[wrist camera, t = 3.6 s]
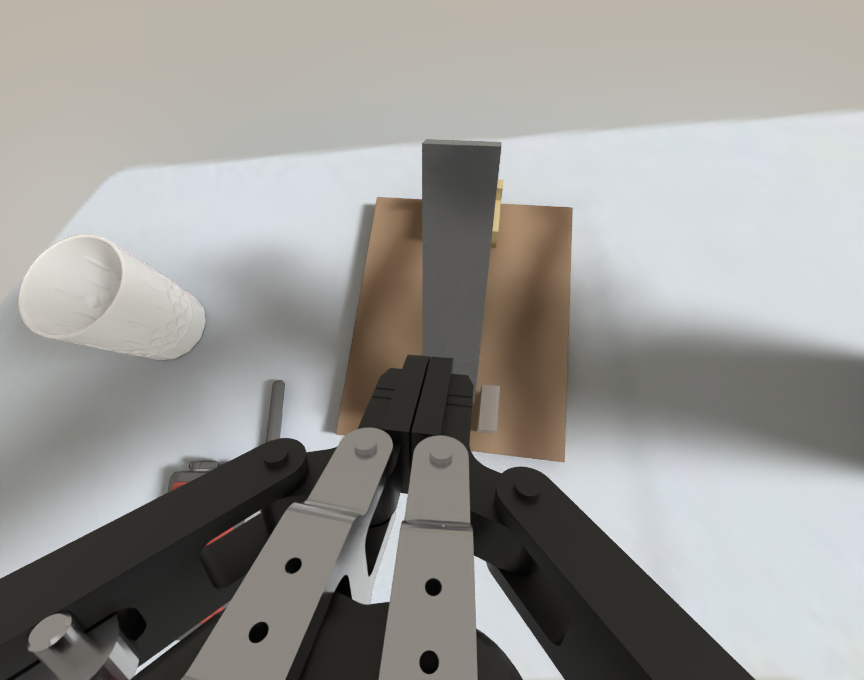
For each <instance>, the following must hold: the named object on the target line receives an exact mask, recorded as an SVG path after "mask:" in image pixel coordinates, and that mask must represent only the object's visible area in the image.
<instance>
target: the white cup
mask: <svg viewBox="0 0 864 680" xmlns="http://www.w3.org/2000/svg"><path fill="white" fill-rule="evenodd" d="M18 307H19V312H20V315H21V318H22V320H23V321H24V323H25V324H26V326H27V327H28V328H29V329H30V330H31V331H33V332H34V333H36V334H38V335H40V336H43V337H46V338H51V339H56V340H60V341H65V342H70V343H75V344H79V345H84V346H89V347H93V348H98V349H102V350H107V351H112V352H119V353H123V354H127V355H135V356H143V357H147V358H151V359H156V360H169V359H176V358H178V357H180V356H182V355H184V354H185V353H187V352H189V351H190V350H191V349H192V348H193V347H194V346H195V345H196V343H197V342H198V341H199V340H200V339H201V336H202V333H203V330H204V327H205V325H206V320H205V311H204V308H203V306H202V305H201V304H200V302H199V301H198V300H197V298H196V297H195V296H193V295H191V294H190V293H188V292H186V291H185V290H183V289H182V288H180V287H179V286H178V285H176V284H175V283H174V282H173V281H171V280H170V279H168V278H167V277H165V276H163V275H162V274H161V273H159V272H158V271H156V270H155V269H153V268H152V267H150V266H149V265H147V264H146V263H144V262H142V261H141V260H139V259H138V258H136V257H135V256H133V255H131V254H130V253H128V252H127V251H125V250H123V249H122V248H120V247H119V246H117V245H116V244H114V243H112V242H111V241H109V240H108V239H106V238H104V237H101V236H97V235H91V234H82V235H75V236H71V237H68V238H65V239H63V240H60V241H58V242H57V243H55V244H53V245H52V246H50V247H49V248H47V249H46V250H45V251H43V252H42V253H41V254H40V255H39V256H38V257H37V258H36V259H35V260H34V262H33V263H32V264H31V266H30V267H29V268H28V270H27V272H26V274H25V275H24V278H23V280H22V282H21V285H20V289H19V294H18Z"/></svg>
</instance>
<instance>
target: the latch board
mask: <svg viewBox="0 0 864 680" xmlns="http://www.w3.org/2000/svg"><path fill="white" fill-rule="evenodd" d="M502 190H503V180H498V183H497V192H496V202H495V212H494V221H493V231H492V240H491V250H490V260H489V269H488V279H487V289H486V298H485V308H484V317H483V327H482V337H481V346H480V356H479V366H478V375H477V385H476V395H475V404H474V403H472V416H471V429H470V450H471V451H476V452H485V453H493V454H501V455H509V456H517V457H525V458H533V459H542V460H550V461H558V462H564V461H565V429H566V398H567V367H568V335H569V304H570V272H571V241H572V210H573V208H570V207H551V206H533V205H514V204H501V197H502ZM408 354H410V355H421V356H423V305H422V199H403V198H385V197H377V200H376V206H375V212H374V218H373V223H372V229H371V235H370V241H369V247H368V252H367V258H366V264H365V270H364V275H363V281H362V287H361V293H360V298H359V304H358V310H357V316H356V321H355V327H354V333H353V339H352V344H351V350H350V356H349V362H348V368H347V373H346V379H345V385H344V391H343V396H342V402H341V408H340V414H339V419H338V425H337V431H336V434H338V435H347V434H349V433H350V432H352V431H354V430H357V429H358V426H359V424H360V422H361V419H362V417H363V415H364V413H365V410H366V408H367V406H368V403H369V401H370V399H371V398H372V394H373V392H374V389H375V387H376V385H377V382H378V380H379V378H380V376H381V375H382V374H384V373H385V372H386V371H387V370H388V369H390V368H397V369H402V368H403V365H404V362H405V359H406V357H407V355H408Z"/></svg>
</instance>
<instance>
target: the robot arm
mask: <svg viewBox="0 0 864 680" xmlns="http://www.w3.org/2000/svg"><path fill="white" fill-rule="evenodd" d="M473 390H474V385H473V383H472V381H471V380H470V378H469V376H468V375H461V374H453V358H444V357H433V356H431V359H430V356H421V355H410V354H408V355H407V357H406V359H405V362H404V365H403V368H402V369H397V368H390V369H388V370H387V371H386V372H385V373H384V374H382V375H381V376H380V378H379V380H378V382H377V385H376V387H375V389H374V392H373V394H372V398H371V399H370V401H369V403H368V406H367V408H366V410H365V413H364V415H363V417H362V419H361V422H360V424H359V426H358V429H357V430H354V431H352V432H350V433H349V434H347V435H346V436H345V437H344V438H343V439H342V440H341V442H340V443H339V445H338V447H335V448H332V449H327V450H320V451H313V452H306V450H305V447H304V446H303V444H302V443H300V442H299V441H297V440H294V439H290V438H280V439H275V440H271V441H269V442H266V443H264V444H262V445H260V446H258V447H256V448H254V449H252V450H251V451H249V452H247V453H245V454H243V455H241V456H239V457H237V458H235V459H233V460H231V461H229V462H227V463H225V464H223V465H221V466H219V467H217V468H215V469H213V470H212V471H210V472H208V473H206V474H204V475H202V476H200V477H198V478H196V479H194V480H192V481H190V482H188V483H186V484H184V485H182V486H180V487H178V488H176V489H174V490H172V491H171V492H169V493H167V494H165V495H163V496H161V497H159V498H157V499H155V500H153V501H151V502H149V503H147V504H145V505H143V506H141V507H139V508H137V509H135V510H133V511H132V512H130V513H128V514H126V515H124V516H122V517H120V518H118V519H116V520H114V521H112V522H110V523H108V524H106V525H104V526H102V527H100V528H98V529H96V530H94V531H93V532H91V533H89V534H87V535H85V536H83V537H81V538H79V539H77V540H75V541H73V542H71V543H69V544H67V545H65V546H63V547H61V548H59V549H57V550H55V551H54V552H52V553H50V554H48V555H46V556H44V557H42V558H40V559H38V560H36V561H34V562H32V563H30V564H28V565H26V566H24V567H22V568H20V569H18V570H16V571H14V572H13V573H11V574H9V575H7V576H5V577H3V578H1V579H0V680H523V679H522V677H521V676H520V674H519V672H518V671H517V669H516V668H515V666H514V665H513V664H512V662H511V661H510V660H509V658H508V657H507V656H506V654H505V653H504V652H503V651H502V650H501V649H500V648H499V647H498V645H497V644H496V643H495V642H493V641H492V640H491V639H490V638H489V637H488V636H486V635H485V634H484V633H482V632H481V631H479V630H478V629H476V612H475V580H474V556H476V557H478V558H480V559H482V560H484V561H486V563H487V566H488V569H489V571H490V572H491V574H492V576H493V577H494V578H495V580H496V581H497V583H498V584H499V586H500V587H501V588H502V590H503V591H504V593H505V594H506V596H507V597H508V599H509V600H510V601H511V603H512V604H513V606H514V607H515V609H516V610H517V612H518V613H519V614H520V616H521V617H522V619H523V620H524V622H525V623H526V624H527V626H528V627H529V629H530V630H531V632H532V633H533V635H534V636H535V637H536V639H537V640H538V642H539V643H540V645H541V646H542V648H543V649H544V650H545V652H546V653H547V655H548V656H549V658H550V659H551V660H552V662H553V663H554V665H555V666H556V668H557V669H558V671H559V672H560V673H561V675H562V676H563V678H564V679H565V680H755V679H754V678H753V677H752V676H751V675H750V674H749V673H748V672H747V671H746V670H745V669H744V668H743V667H742V666H741V665H740V664H739V663H738V662H737V661H736V660H735V659H734V658H733V657H732V656H731V655H730V654H728V653H727V652H726V651H725V650H724V649H723V648H722V647H721V646H720V645H719V644H718V643H717V642H716V641H715V640H714V639H713V638H712V637H711V636H710V635H709V634H708V633H707V632H706V631H705V630H704V629H703V628H702V627H701V626H700V625H699V624H698V623H697V622H696V621H695V620H694V619H693V618H692V617H691V616H690V615H689V614H687V613H686V612H685V611H684V610H683V609H682V608H681V607H680V606H679V605H678V604H677V603H676V602H675V601H674V600H673V599H672V598H671V597H670V596H669V595H668V594H667V593H666V592H665V591H664V590H663V589H662V588H661V587H660V586H659V585H658V584H657V583H656V582H655V581H654V580H653V579H652V578H651V577H650V576H649V575H647V574H646V573H645V572H644V571H643V570H642V569H641V568H640V567H639V566H638V565H637V564H636V563H635V562H634V561H633V560H632V559H631V558H630V557H629V556H628V555H627V554H626V553H625V552H624V551H623V550H622V549H621V548H620V547H619V546H618V545H617V544H616V543H615V542H614V541H613V540H612V539H611V538H610V537H609V536H608V535H606V534H605V533H604V532H603V531H602V530H601V529H600V528H599V527H598V526H597V525H596V524H595V523H594V522H593V521H592V520H591V519H590V518H589V517H588V516H587V515H586V514H585V513H584V512H583V511H582V510H581V509H580V508H579V507H578V506H577V505H576V504H575V503H574V502H573V501H572V500H571V499H570V498H569V497H568V496H567V495H565V494H564V493H563V492H562V491H561V490H560V489H559V488H558V487H557V486H556V485H555V484H554V483H553V482H552V481H551V480H550V479H549V478H548V477H547V476H546V475H544V474H543V473H541V472H539V471H537V470H535V469H532V468H528V467H513V468H510V469H507V470H506V471H504V472H503V473H502V474H501V473H499V472H497V471H494V470H492V469H489V468H487V467H485V466H484V465H482V464H481V463H480V462H478V461H477V460H476V458H475V457H474V456H473V454H472V452H471V450H470V429H471V416H472V403H473ZM400 493H406V494H408V498H407V505H406V512H405V519H404V521H402V523H401V528H400V534H399V541H398V548H397V555H396V562H395V569H394V576H393V583H392V590H391V597H390V602H385V603H377V604H370V603H371V595H372V590H373V585H374V582H375V579H376V576H377V573H378V569H379V566H380V563H381V560H382V557H383V554H384V551H385V548H386V545H387V542H388V539H389V536H390V533H391V530H392V527H393V524H394V521H395V517H396V508H397V504H398V500H399V496H400ZM258 511H260V512H261V513H259V514H258V515H256V516H255V517H253V518H251V519H250V520H248V521H247V522H245V523H243V524H242V525H240V526H238V527H237V528H235V529H234V530H232V531H230V532H229V533H227V534H226V535H224V536H222V537H221V538H219V539H217V540H216V541H214V542H213V543H211V544H209V545H207V544H208V543H209V542H210V541H211V540H213V539H214V538H216V537H217V536H219V535H221V534H222V533H224V532H225V531H227V530H229V529H230V528H232V527H234V526H235V525H237V524H239V523H240V522H242V521H243V520H245V519H247V518H248V517H250V516H252V515H253V514H255V513H256V512H258ZM230 600H231V601H230ZM229 601H230V603H229V605H228V606H227V607H226V608H225V609H223V610H222V611H220V612H218V613H217V614H215V615H214V616H212V617H211V618H210V619H208V620H207V621H206V622H204V623H203V624H202V625H200V626H199V627H198V628H196V629H195V630H194V631H192V632H191V633H190V634H189V635H187V636H186V637H185V638H183V639H182V640H181V641H179V642H178V643H177V644H175V645H174V646H173V647H172V648H170V649H169V650H168V651H166V652H165V653H164V654H162V655H161V656H160V657H158V658H157V659H156V660H155V661H153V662H152V663H151V664H149V665H148V666H147V667H145V668H144V669H143V670H141V671H140V672H139V673H138V674H136V675H135V672H136V670H137V668H138V667H139V666H140V665H142V664H143V663H145V662H146V661H147V660H149V659H150V658H152V657H153V656H154V655H156V654H157V653H158V652H160V651H161V650H163V649H164V648H165V647H167V646H168V645H170V644H171V643H172V642H174V641H175V640H176V639H178V638H179V637H181V636H182V635H183V634H185V633H186V632H188V631H189V630H190V629H192V628H193V627H194V626H196V625H197V624H199V623H200V622H201V621H203V620H204V619H206V618H207V617H208V616H210V615H211V614H212V613H214V612H215V611H217V610H218V609H219V608H221V607H222V606H224V605H225V604H226V603H228V602H229ZM134 675H135V676H134Z"/></svg>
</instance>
